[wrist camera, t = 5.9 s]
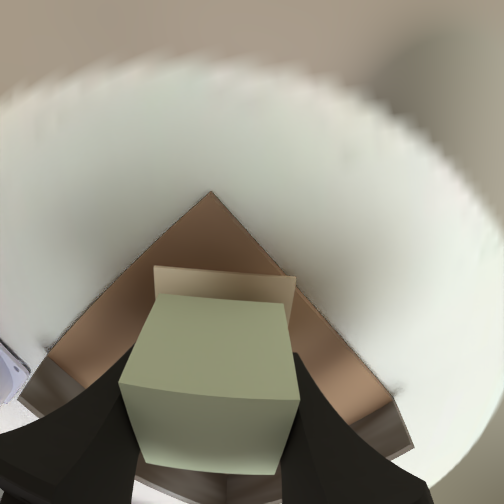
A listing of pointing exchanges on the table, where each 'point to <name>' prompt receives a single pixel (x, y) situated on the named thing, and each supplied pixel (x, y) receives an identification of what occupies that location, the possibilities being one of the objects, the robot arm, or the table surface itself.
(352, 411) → the tray
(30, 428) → the robot arm
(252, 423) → the sage cube
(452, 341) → the table surface
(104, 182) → the table surface
